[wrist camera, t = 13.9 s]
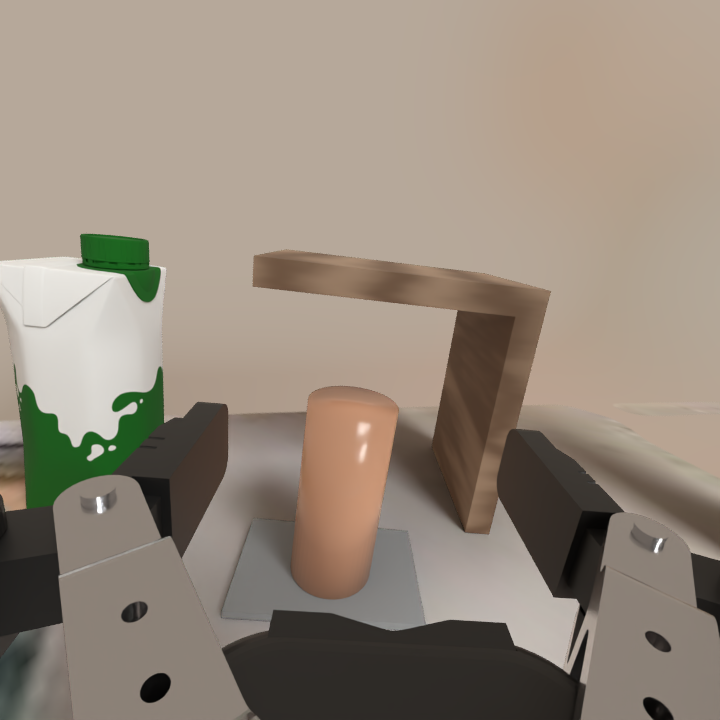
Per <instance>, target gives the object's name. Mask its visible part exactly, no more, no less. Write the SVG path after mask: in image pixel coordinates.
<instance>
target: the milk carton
mask: <svg viewBox="0 0 720 720" xmlns="http://www.w3.org/2000/svg"><path fill="white" fill-rule="evenodd" d="M80 238H81V254H82V255H81V256H82V259H80V258H72V257H52V258H39V259H23V260H8V261H0V308H1V310H2V312H3V315H4V318H5V320H6V324H7V328H8V335H9V342H10V349H11V356H12V363H13V370H14V377H15V384H16V391H17V397H18V405H19V412H20V420H21V427H22V435H23V446H24V466H25V486H26V507H27V509H30V508H38V507H45V506H52V505H53V504H54V502H55V500H56V499H57V497H58V496H59V495H60V494H61V493H62V492H64V491H65V490H66V489H68V488H69V487H71V486H73V485H75V484H77V483H79V482H81V481H84V480H87V479H90V478H94V477H99V476H105V475H111V474H112V473H113V472H114V471H115V470H116V469H117V468H118V467H119V466H120V465H121V464H122V463H123V462H124V461H125V460H126V459H127V458H128V457H129V456H130V455H131V454H132V453H133V452H134V451H135V450H136V449H137V448H139V446H140V445H141V443H142V442H143V441H144V440H145V439H148V436H149V435H150V434H151V433H152V432H153V431H154V430H155V429H156V428H157V427H158V426H160V425H162V424H164V398H163V361H162V360H163V358H162V313H163V301H164V291H165V281H166V271H167V270H166V268H164V267H159V266H151V265H149V242H148V241H147V240H145V239H138V238H132V237H123V236H113V235H100V234H81V235H80Z"/></svg>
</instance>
